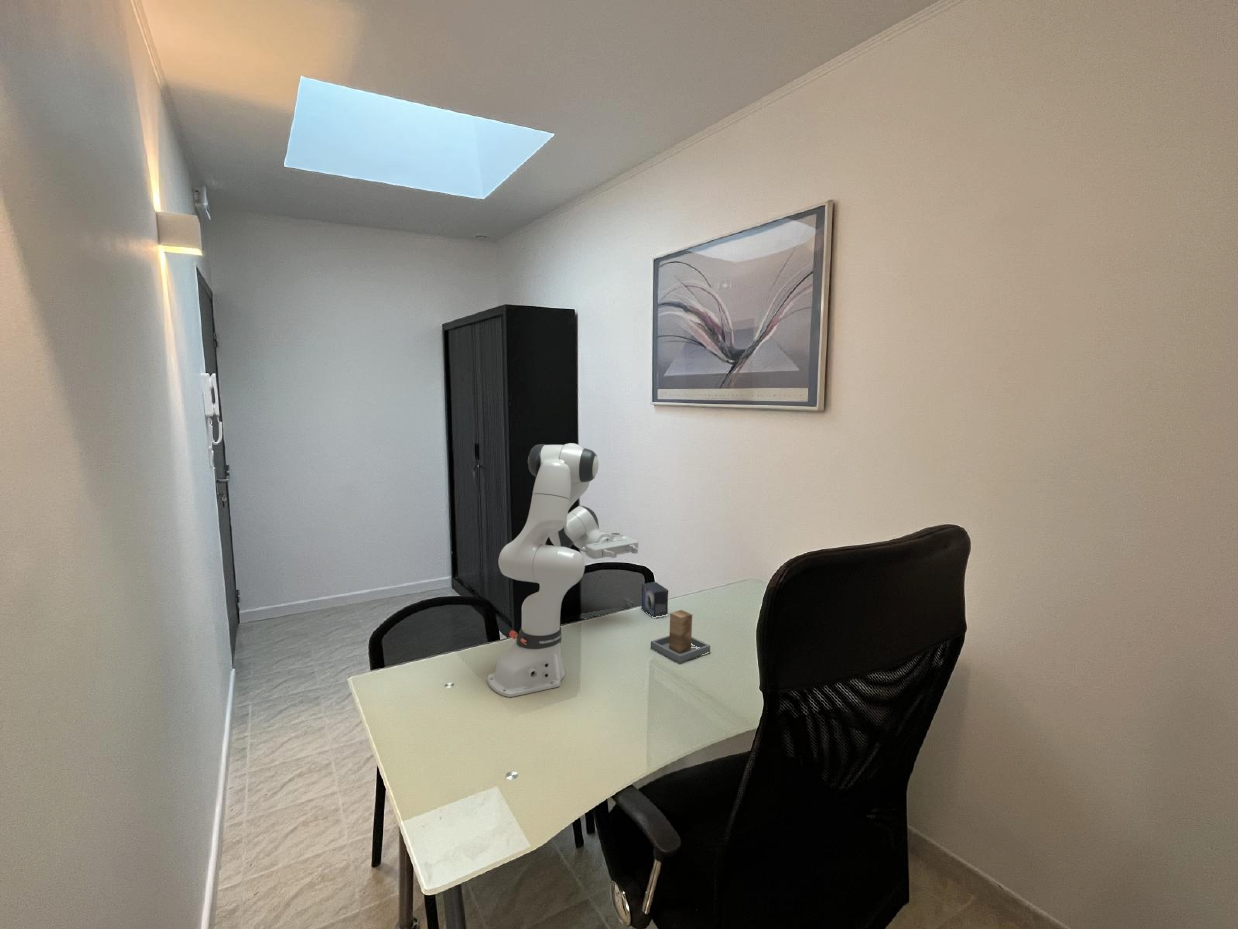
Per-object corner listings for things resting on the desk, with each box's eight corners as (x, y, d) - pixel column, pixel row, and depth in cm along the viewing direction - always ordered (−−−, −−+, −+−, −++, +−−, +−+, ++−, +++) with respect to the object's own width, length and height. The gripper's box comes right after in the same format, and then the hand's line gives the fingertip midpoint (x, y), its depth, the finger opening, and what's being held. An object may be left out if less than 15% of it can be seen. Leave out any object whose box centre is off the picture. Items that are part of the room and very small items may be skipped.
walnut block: (679, 654, 190) (680, 617, 188) (669, 648, 194) (670, 613, 192) (690, 650, 193) (692, 614, 191) (680, 644, 197) (681, 609, 195)
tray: (679, 664, 184) (679, 656, 184) (650, 648, 195) (650, 641, 194) (710, 653, 192) (710, 645, 192) (680, 638, 203) (681, 631, 203)
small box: (640, 609, 229) (640, 583, 228) (654, 607, 232) (655, 581, 231) (652, 619, 220) (653, 591, 219) (668, 616, 223) (669, 589, 221)
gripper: (578, 540, 209) (601, 548, 198) (624, 532, 222) (648, 540, 211) (578, 557, 210) (601, 567, 199) (623, 549, 222) (647, 557, 212)
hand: (625, 553), depth 205 cm, fingers open, 8 cm apart
